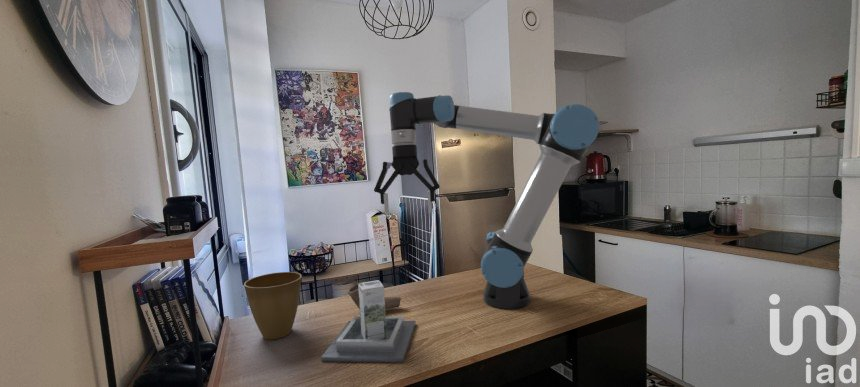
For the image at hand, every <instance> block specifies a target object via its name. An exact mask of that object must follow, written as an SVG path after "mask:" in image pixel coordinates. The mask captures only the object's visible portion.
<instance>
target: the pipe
mask: <svg viewBox="0 0 860 387" xmlns="http://www.w3.org/2000/svg"><path fill="white" fill-rule="evenodd" d="M364 282H365V281H359V282H357V283H355V284H354V285H353V286H351V287H350V288H349V289H348V291H347V294H348V295H349V296H350V298H351V300H352V301H353V303H354V304H355V306H356V307H357V308H358V309H359V311H360V305H359V289H358V284H359V283H364ZM401 301H402V298H401V297H400V296H385V311H386V310H391V309H395V308H399V307H400V306H401Z"/></svg>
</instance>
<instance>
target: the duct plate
mask: <svg viewBox="0 0 860 387" xmlns="http://www.w3.org/2000/svg"><path fill="white" fill-rule="evenodd" d="M385 317H386V337H387V338H386V339H363V336H362V334H361V322H360V316H354V317H353V318H352V320H348V322H347V323H346V324H345V326H344V327H343V328H342V330H341V331H340V332H339V333H338V335H337V336H336V337H335V338H334V340H333V341H331V344H330V345H329V346H328V347H327V349H326V350H325V352H324V353H323V354H322V356H321V357H320V358H321V359H320V361H321V362H337V363H338V362H340V363H341V362H345V363H347V362H348V363H352V362H353V363H404V361H405V357H406V354H407V352H408V348H409V345H410V343H411V340H412V336H413V333H414V331H415V327H416V320H405V317H404V316H385Z"/></svg>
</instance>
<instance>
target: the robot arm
mask: <svg viewBox="0 0 860 387" xmlns="http://www.w3.org/2000/svg"><path fill="white" fill-rule="evenodd" d="M388 110H389V118H390V119H389V120H390V134H391V144H392V145H393V146H392V147H391V151H392V162H390V161H389V162H388V161H383V162H382V168H381V171H380V174H379V177H378V178H377V181H376V184H375V186H374V189H373V191H374V193H378V194H379V195H380V205H383V207H384V208H383V209H384V215H385V216H387V215H389V214H390V207H389V194H388V193H386V192H387V190H388V189H389V188H390V186H391V185H392V183H393V182H394V181H395V180H396V178H398V176H399V175H400V176H405V175H406V176H412V175H413V174H414V176H416V178H418V179H419V180H420V181H421V183H423V185H424V186H425V187H426V188H427V189H428V190H429V191H427V206H428V214H431V213H432V212H433V211H432V210H433V209H432V202H433V203H434V202H435V191H436V190H438V189H440V187H441V186H440V184H439V181H438V180H437V179H436V176H435V175H434V173H433V171H432V170H431V168H430V166H429V162H428V161H429V160H428V159H425V158H424V159H421V160H418V159H419V158H418V148H417V145H416V143H417V132H416V125H421V124H433V125H436V126H438V127H439V128H443V129H448V128H449V129H456V130H462V131H471V132H477V133H485V134H491V135H498V136H505V137H510V138H511V137H512V138H517V139H524V140H530V141H531V140H532V141H534V142H535V143H536V145H538V146H539V149H540V155H539V157H538V159H537V161H536V163H535V165H534V167H533V169H532V171H531V173H530V175H529V177H528V179H527V180H526V183H525V185H524V187H523V189H522V191H521V193H520V195H519V197H518V199H517V200H516V203H515V205H514V207H513V208H512V211H511V212H510V214H509V216H508V219H507V221H506V223H505V224H504V226H503V228H501V229H498V230H496V231H490V232H488V233H487V234H486V238H485V241H486V250H485V251H484V254H483V255H482V256H481V260H480V269H481V273H482V276H483V277H484V279H485V280H486V283H485V287H484V290H483V301H484V303H485V304H486V305H488V306H490V307H493V308H495V309H496V308H498V309H504V310H506V309H508V310H509V309H510V310H513V309H520V308H521V309H522V308H524V307H526V306H528V305H529V304H530V302H531V294H530V292H529V288H528V285H527V283H526V280H525V273H524V270H525V266H526V264H527V263H528V261H529V259H530V257H531V255H532V254H533V250H534V249H533V246H532V241H533V240H534V238H535V235H536V233H537V232H538V230H539V228H540V226H541V224H542V222H543V220H544V218H545V217H546V215H547V213H548V211H549V209H550V207H551V205H552V203H553V202H554V199H555V198H556V195H557V194H558V192H559V191H560V189H561V186H562V184H563V183H564V181H565V178H566V176H567V174H568V173H569V171H570V169H571V167H572V166H574V165H577V164H580V163H581V161H582V159H583V157H584V155H585V153H586V152H587V149H588V147H589V146H590V145H591V144H592V143H593V142H594V141H595V140H596V138H597V137H598V134H599V131H600V121H599V119H598V116H597V114H596V113H595V111H593V109H591V108H590V107H589V106H586V105H584V104H579V103H572V104H568V105H565V106H562V107H561V108H560V109H558V110H557V111H555V113H546V112H542V113H541V114H539V115H536V114H527V113H519V112H512V111H503V110H496V109H488V108H481V107H474V106H473V107H472V106H466V105H465V106H463V105H457V104H455V103H454V100H453V97H452V96H451V95H448V94H447V95H442V94H441V95H436V96H429V97H420V98H416V97H414V94H413V93H412V92H408V91H398V92H394V93H392V94H390V96H389V108H388ZM419 165H420V166H421V167H422V168H424V171H425V172H426V174H427V176H428V177H429V179H430V180H431V183H432V184H433V185H432V184H431V183H430V182H429V181H428V180H427V179H426V178H425V177H424V175H422V174H421V173H420V171H419V170H418V167H419ZM391 167H392V168H393V170H394V171H393V172H392V174H391V176H390V177H389V179H387V181H386V182H385V184H384V185H383V182H384V180H385V178H386V175H387V173H388V170H389V169H390V168H391ZM382 185H383V187H382Z"/></svg>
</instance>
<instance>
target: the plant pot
mask: <svg viewBox="0 0 860 387" xmlns="http://www.w3.org/2000/svg"><path fill="white" fill-rule="evenodd" d="M243 285H244V292H245V295H246V299H247V303H248V305H249V309H250V312H251V314H252V316H253V319H254V321H255V324H256V326H257V328H258V330H259V332H260V334H261V336H262V338H263V339H265V340H278V339H282V338H285V337H287V336H289V334H290V333H291V332H292V329H293V327H294V323H295V319H296V316H297V312H298V307H299V301H300V295H301V287H302V274H301V273H299V272H295V271H282V272H280V271H279V272H273V273H266V274H265V273H264V274H262V275H258V276H254V277H252V278H250V279H248V280H246V281H245V282H244V284H243Z"/></svg>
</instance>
